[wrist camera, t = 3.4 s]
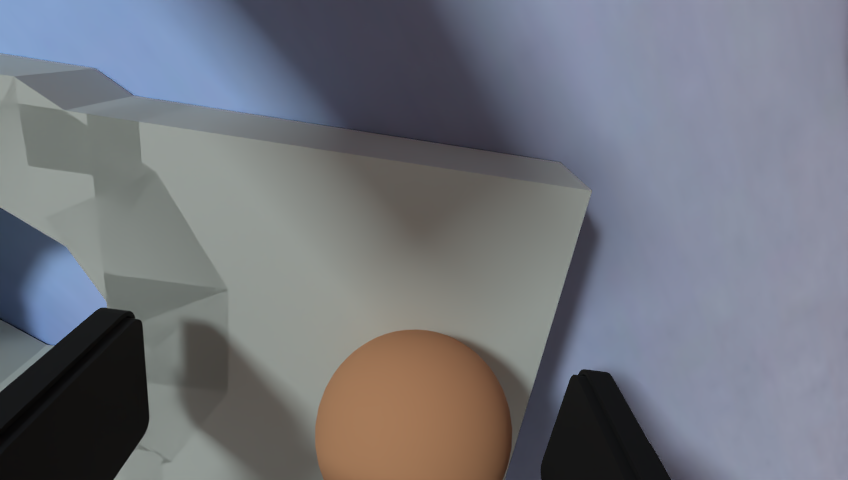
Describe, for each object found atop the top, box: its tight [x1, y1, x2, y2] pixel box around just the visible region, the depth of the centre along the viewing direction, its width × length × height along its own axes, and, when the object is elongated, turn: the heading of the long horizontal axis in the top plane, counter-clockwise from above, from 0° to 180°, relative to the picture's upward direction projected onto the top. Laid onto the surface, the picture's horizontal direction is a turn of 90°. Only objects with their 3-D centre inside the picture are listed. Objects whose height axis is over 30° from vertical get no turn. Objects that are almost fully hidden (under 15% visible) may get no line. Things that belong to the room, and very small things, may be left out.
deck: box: [0, 53, 592, 480], centre depth 14 cm, size 18×16×2 cm
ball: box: [315, 329, 512, 480], centre depth 10 cm, size 4×4×4 cm
